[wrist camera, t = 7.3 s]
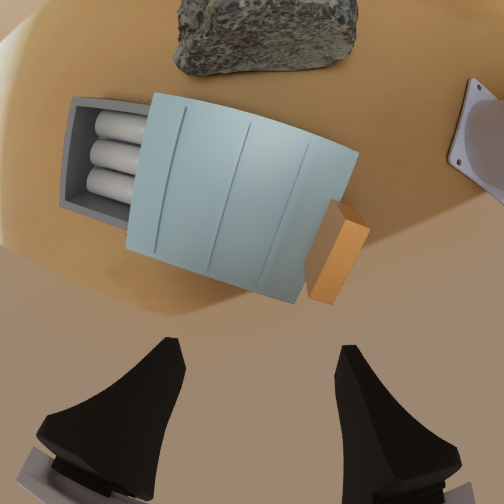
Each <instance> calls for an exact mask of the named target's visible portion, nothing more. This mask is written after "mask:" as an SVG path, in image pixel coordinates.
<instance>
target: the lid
mask: <svg viewBox="0 0 504 504" xmlns="http://www.w3.org/2000/svg"><path fill="white" fill-rule="evenodd" d="M358 156H359V152H357V151H354V150H352V149H350V148H347V147H345V146H343V145H340V144H338V143H335V142H333V141H330V140H328V139H325V138H323V137H320V136H318V135H315V134H312V133H310V132H307V131H304V130H301V129H299V128H296V127H293V126H290V125H287V124H284V123H281V122H278V121H275V120H272V119H268V118H265V117H262V116H258V115H255V114H252V113H248V112H244V111H241V110H237V109H233V108H229V107H225V106H221V105H217V104H213V103H209V102H204V101H200V100H195V99H190V98H185V97H180V96H174V95H168V94H162V93H156V92H154V96H153V99H152V103H151V106H150V110H149V114H148V118H147V122H146V126H145V130H144V135H143V139H142V144H141V148H140V153H139V158H138V163H137V169H136V174H135V180H134V186H133V192H132V199H131V206H130V213H129V222H128V230H127V240H126V249H129V250H132V251H134V252H137V253H140V254H143V255H145V256H148V257H151V258H154V259H157V260H159V261H162V262H165V263H168V264H171V265H174V266H177V267H179V268H182V269H185V270H188V271H191V272H194V273H197V274H200V275H203V276H206V277H209V278H212V279H215V280H218V281H221V282H224V283H227V284H230V285H233V286H236V287H239V288H243V289H246V290H249V291H252V292H255V293H258V294H262V295H265V296H268V297H272V298H275V299H278V300H281V301H285V302H288V303H291V304H295V301H296V299H297V297H298V295H299V293H300V291H301V289H302V287H303V285H304V283H305V281H307V288H308V297H309V298H311V299H314V300H317V301H321V302H324V303H327V304H331V305H332V304H333V302H334V300H335V298H336V296H337V294H338V293H339V290H340V289H341V287H342V285H343V283H344V281H345V279H346V278H347V276H348V274H349V272H350V270H351V268H352V266H353V264H354V262H355V260H356V258H357V256H358V254H359V252H360V250H361V248H362V246H363V244H364V242H365V240H366V238H367V236H368V234H369V232H370V228H369V226H368V225H367V224H366V223H365V222H364V220H363V219H362V218H361V217H360V216H359V214H358V213H357V212H356V211H355V210H354V208H353V207H352V206H349V205H347V204H344V203H342V202H340V201H341V199H342V197H343V194H344V192H345V189H346V187H347V184H348V182H349V179H350V177H351V174H352V171H353V169H354V166H355V164H356V161H357V158H358Z"/></svg>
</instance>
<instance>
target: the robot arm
mask: <svg viewBox="0 0 504 504" xmlns="http://www.w3.org/2000/svg"><path fill="white" fill-rule="evenodd" d="M477 86H478V87H479V90H478V88H477ZM457 160H459V163H458V165H457ZM448 162H449V163H450V165H452V166H453V167H455V168H456V169H458V170H459V171H461V172H462V173H463V174H465V175H466V176H468V177H469V178H470V179H472V180H473V181H474V182H476V183H477V184H478V185H479V186H481V187H482V188H483V189H485V190H486V191H487V192H488V193H490V194H491V195H492V196H493V197H494V198H496V199H497V200H498V201H499V202H500V203H502V204H503V205H504V100H498V99H497V98H496V97H495V96H494V95H493V94H492V93H491V92H490V91H489V90H488V89H486V88H485V87H484V86H483V85H482V84H481V83H480V82H478V81H477V80H476V79H475V78H471V79H469V82H468V86H467V91H466V95H465V100H464V104H463V108H462V112H461V115H460V119H459V123H458V126H457V129H456V133H455V136H454V139H453V142H452V145H451V149H450V152H449V154H448ZM185 371H186V366H185V363H184V359H183V356H182V352H181V348H180V344H179V341H178V338H170V337H165V338H164V339H163V340H162V341H161V342H160V343H159V344H158V345H157V346H156V347H155V348H154V349H153V350H152V351H151V352H150V353H149V354H148V355H146V356H145V357H144V359H142V360H141V361H140V362H139V363H138V364H137V365H136V366H135V367H134V368H132V369H131V370H130V371H129V372H128V373H126V374H125V375H124V376H123V377H122V378H120V379H119V380H118V381H117V382H115V383H114V384H112V385H111V386H110V387H108V388H107V389H105V390H104V391H102V392H100V393H99V394H97V395H95V396H93V397H92V398H90V399H88V400H86V401H84V402H82V403H80V404H78V405H76V406H73V407H71V408H69V409H66V410H63V411H60V412H57V413H54V414H51V415H48V416H47V417H46V418H45V420H44V421H43V423H42V425H41V426H40V428H39V430H38V432H37V433H36V436H37V438H38V440H39V441H40V442H42V444H44V445H45V446H46V447H47V448H48V449H49V450H50V451H51V452H53V453H54V454H55V455H56V458H55V460H54V459H52V458H51V457H50V456H48V455H47V454H45V453H43V452H42V451H40V450H39V449H37V448H35V447H33V448H32V450H31V452H30V454H29V456H28V457H27V459H26V461H25V463H24V465H23V467H22V469H21V471H20V473H19V475H18V477H17V479H16V482H17V483H18V484H19V485H21V486H22V487H23V488H24V489H26V490H27V491H28V492H30V493H31V494H32V495H33V496H35V497H36V498H37V499H38V500H40V501H41V502H42V503H44V504H147V503H144V502H141V501H138V500H135V499H133V498H138V499H141V500H144V501H150V500H152V499H153V496H154V486H155V477H156V471H157V465H158V460H159V455H160V450H161V445H162V441H163V437H164V433H165V430H166V427H167V423H168V421H169V418H170V416H171V413H172V411H173V408H174V405H175V403H176V400H177V398H178V395H179V393H180V390H181V387H182V383H183V379H184V375H185ZM334 378H335V394H336V400H337V407H338V412H339V418H340V424H341V430H342V437H343V455H344V475H343V476H344V477H343V496H342V504H475V499H474V494H473V490H472V485H471V482H468V483H466V484H464V485H462V486H460V487H457V488H455V489H453V490H450V491H448V492H446V493H444V494H443V488H445V486H446V485H445V480H446V479H447V478H449V477H450V476H452V475H453V474H454V473H456V472H457V471H458V470H459V469H460V468H461V466H462V463H461V459H460V455H459V452H458V450H457V447H455V446H453V445H452V444H450V443H448V442H446V441H445V440H443V439H441V438H439V437H438V436H436V435H435V434H434V433H432V432H431V431H429V430H428V429H427V428H425V427H424V426H423V425H422V424H420V423H419V422H418V421H417V420H416V419H414V418H413V417H412V416H411V415H410V414H409V413H408V412H407V411H406V410H405V409H404V408H403V407H402V406H401V405H400V404H399V403H398V402H397V401H396V400H395V398H394V397H393V396H392V395H391V394H390V392H389V391H388V390H387V389H386V388H385V386H384V385H383V384H382V383H381V381H380V380H379V378H378V377H377V376H376V374H375V373H374V371H373V370H372V369H371V367H370V366H369V364H368V363H367V361H366V360H365V359H364V357H363V355H362V353H361V352H360V350H359V349H358V347H357V346H356V345H343V346H342V349H341V353H340V356H339V360H338V364H337V368H336V372H335V375H334ZM128 496H130V497H133V498H130V497H128Z"/></svg>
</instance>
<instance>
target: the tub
mask: <svg viewBox="0 0 504 504" xmlns="http://www.w3.org/2000/svg"><path fill="white" fill-rule="evenodd" d="M150 106H151V104H145V103H139V102H132V101H125V100H117V99H108V98H94V97H72V102H71V106H70V111H69V116H68V122H67V128H66V134H65V141H64V149H63V157H62V167H61V179H60V198H59V206H60V207H63V208H66V209H68V210H71V211H74V212H77V213H79V214H82V215H85V216H88V217H90V218H93V219H96V220H99V221H102V222H104V223H107V224H110V225H113V226H116V227H118V228H121V229H124V230H128V222H129V213H130V206H131V199H132V192H133V186H134V180H135V174H136V169H137V163H138V158H139V153H140V148H141V144H142V139H143V135H144V130H145V126H146V122H147V118H148V114H149V110H150Z"/></svg>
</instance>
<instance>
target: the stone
mask: <svg viewBox="0 0 504 504" xmlns="http://www.w3.org/2000/svg"><path fill="white" fill-rule="evenodd" d="M177 13H178V22H179V27H178V29H179V32H180V34H179V38H178V41H179V46H178V48H177V51H176V53H175V54H174V55H173V56H172V60H173V61H174V62H175V63H176V65H177V67H178V68H179V69H180V70H181V71H183V72H184V73H185V74H188V75H200V76H207V75H210V74H215V73H223V74H227V73H231V72H236V71H251V70H256V71H257V70H259V71H267V70H271V71H294V70H300V69H310V68H320V67H326V66H331V65H333V64H334V61H336V60H341V59H343V58H345V57H346V56H348V55H349V54H350V52H351V50H352V48H353V46H354V42H355V40H356V21H357V20H358V7H357V2H356V0H182V3H181V5H180V8H179V9H178V11H177Z"/></svg>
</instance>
